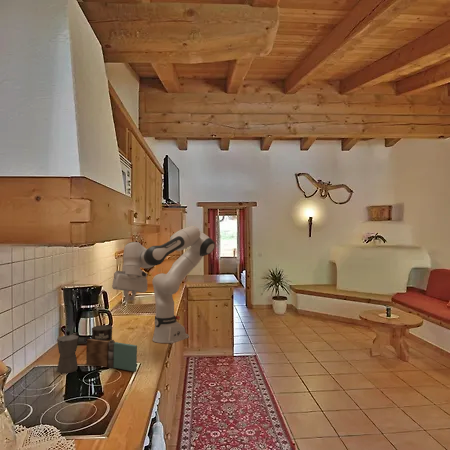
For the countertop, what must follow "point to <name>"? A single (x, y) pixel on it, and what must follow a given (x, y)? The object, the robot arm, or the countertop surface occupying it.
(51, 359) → the countertop surface
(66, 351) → the coffeepot
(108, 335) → the coffee can
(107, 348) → the dark wooden block
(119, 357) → the teal flat block
